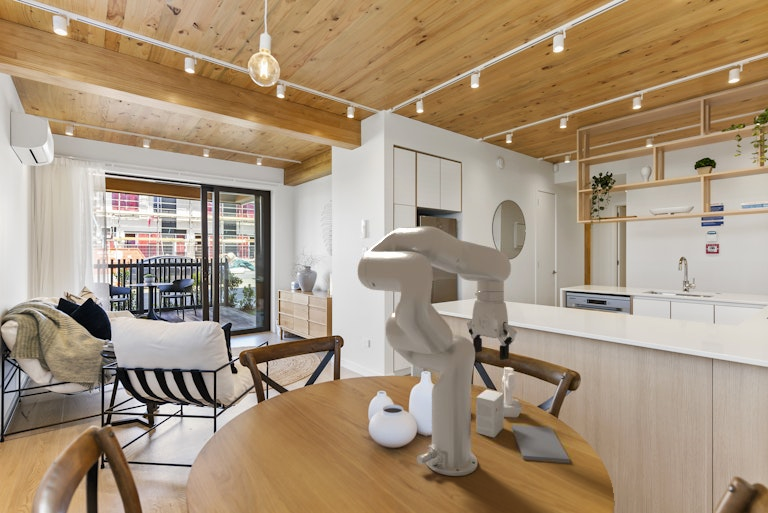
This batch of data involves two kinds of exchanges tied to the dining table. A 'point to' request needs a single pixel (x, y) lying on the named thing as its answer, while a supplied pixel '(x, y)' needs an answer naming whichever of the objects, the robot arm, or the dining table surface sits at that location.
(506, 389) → the figurine
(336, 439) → the dining table surface
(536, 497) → the dining table surface
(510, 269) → the robot arm
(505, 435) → the dining table surface
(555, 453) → the mat
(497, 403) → the small box
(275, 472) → the dining table surface
